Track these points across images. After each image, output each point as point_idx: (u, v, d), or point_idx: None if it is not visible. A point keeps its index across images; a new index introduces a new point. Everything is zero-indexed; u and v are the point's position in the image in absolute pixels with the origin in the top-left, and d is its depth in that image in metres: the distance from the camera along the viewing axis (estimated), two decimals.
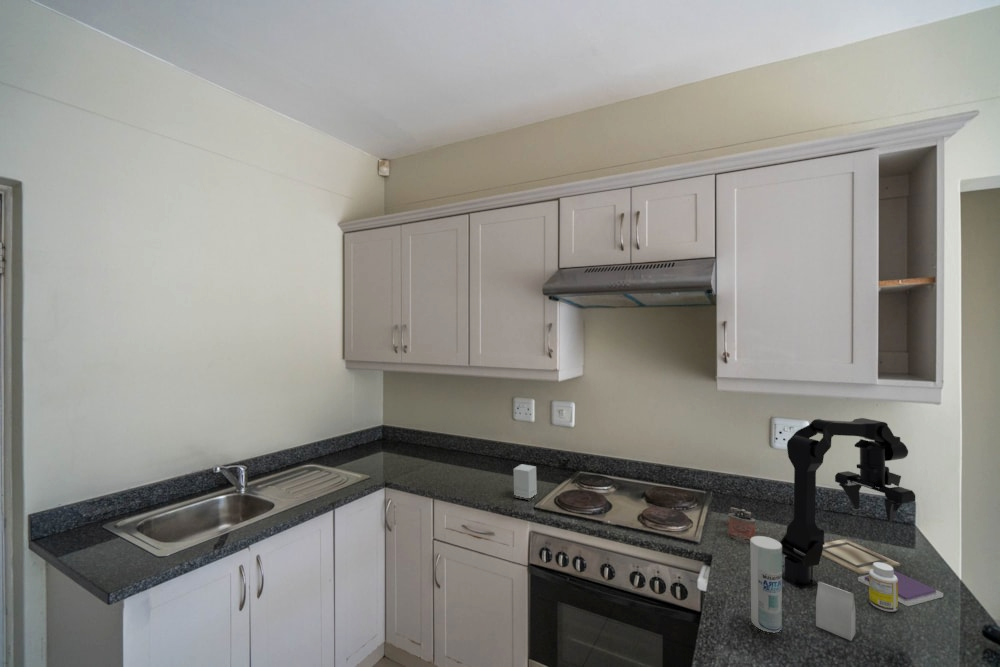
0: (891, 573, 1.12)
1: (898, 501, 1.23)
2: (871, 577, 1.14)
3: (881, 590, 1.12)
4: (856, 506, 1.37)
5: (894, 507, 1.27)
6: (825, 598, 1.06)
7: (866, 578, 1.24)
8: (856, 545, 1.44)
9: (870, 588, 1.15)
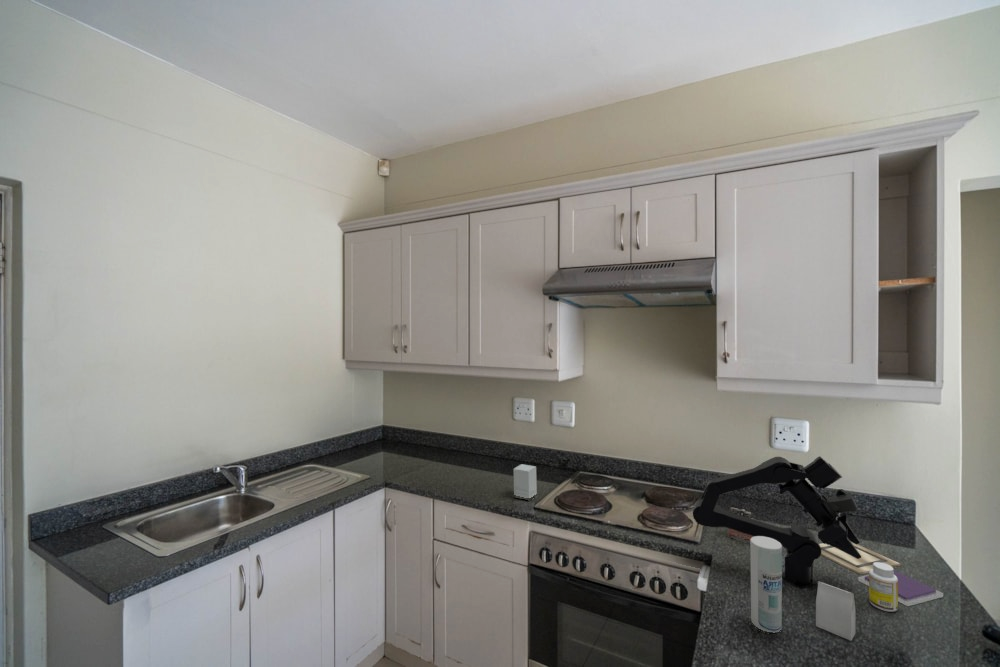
0: (891, 573, 1.12)
1: (823, 542, 1.15)
2: (871, 577, 1.14)
3: (881, 590, 1.12)
4: (853, 541, 1.22)
5: (844, 543, 1.15)
6: (825, 598, 1.06)
7: (866, 578, 1.24)
8: (856, 545, 1.44)
9: (870, 588, 1.15)
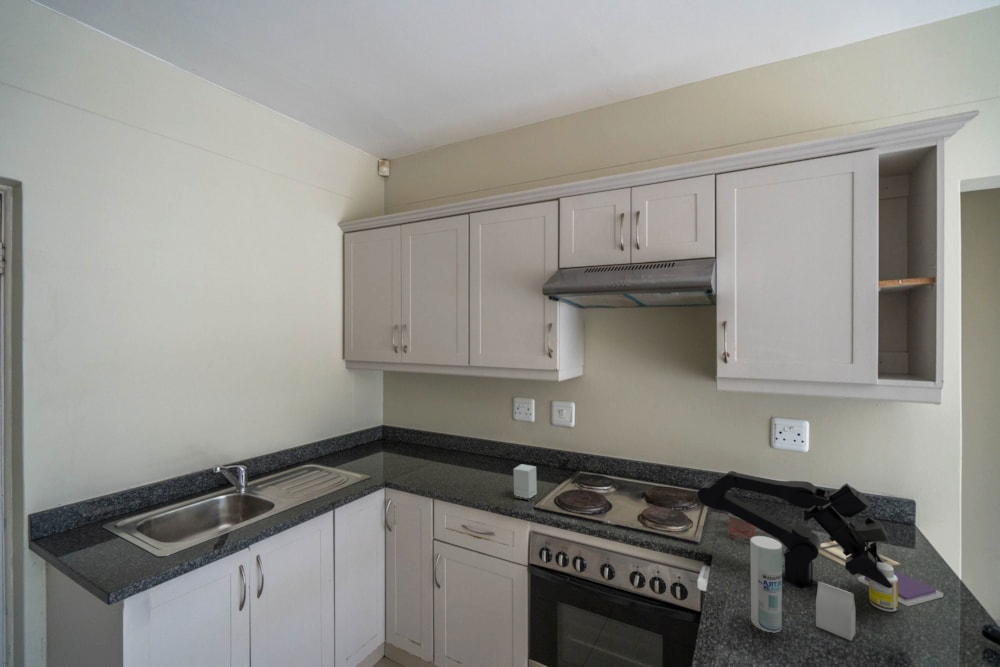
0: (891, 573, 1.12)
1: (851, 573, 1.11)
2: None
3: (881, 590, 1.12)
4: None
5: (874, 572, 1.12)
6: (825, 598, 1.06)
7: (866, 578, 1.24)
8: None
9: (870, 588, 1.15)
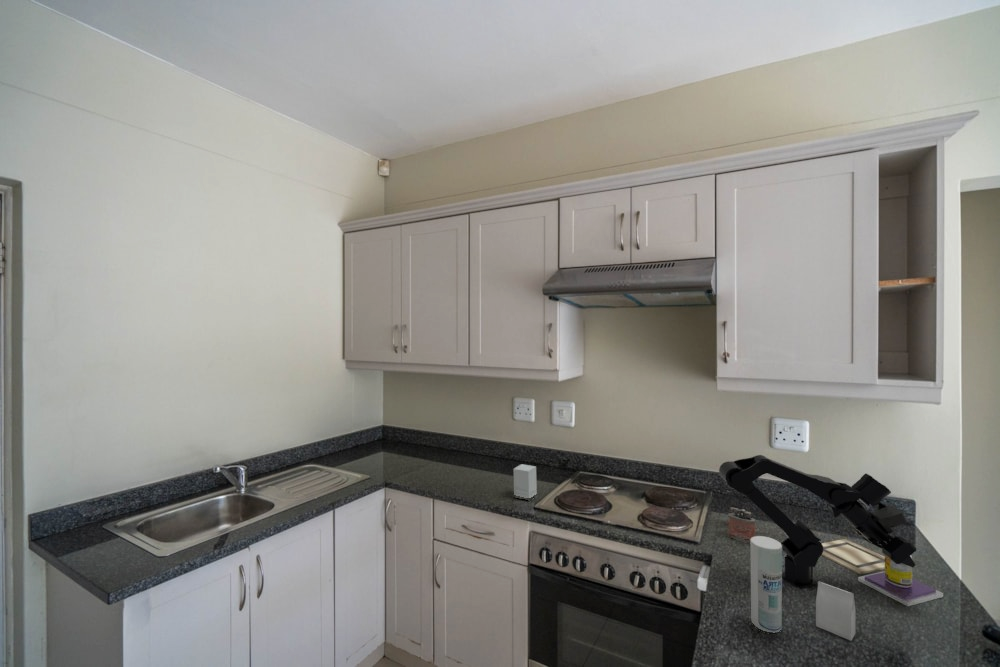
0: None
1: (895, 562, 1.14)
2: None
3: (903, 569, 1.19)
4: None
5: None
6: (825, 598, 1.06)
7: (866, 578, 1.24)
8: (856, 545, 1.44)
9: (890, 569, 1.21)
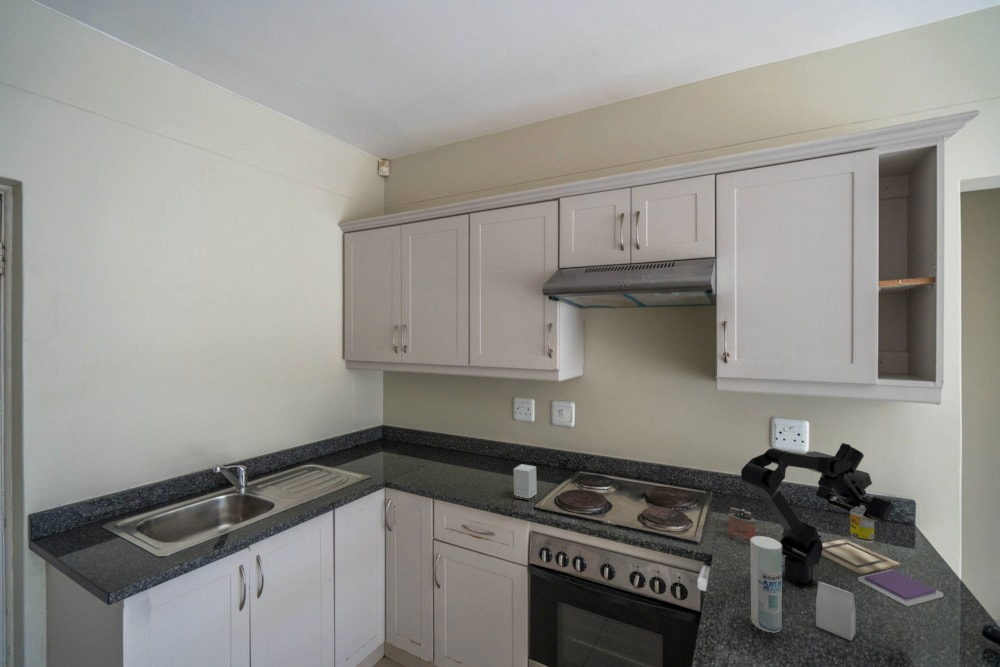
0: None
1: (882, 521, 1.24)
2: (862, 518, 1.32)
3: (871, 526, 1.32)
4: None
5: None
6: (825, 598, 1.06)
7: (866, 578, 1.24)
8: (856, 545, 1.44)
9: (860, 528, 1.33)
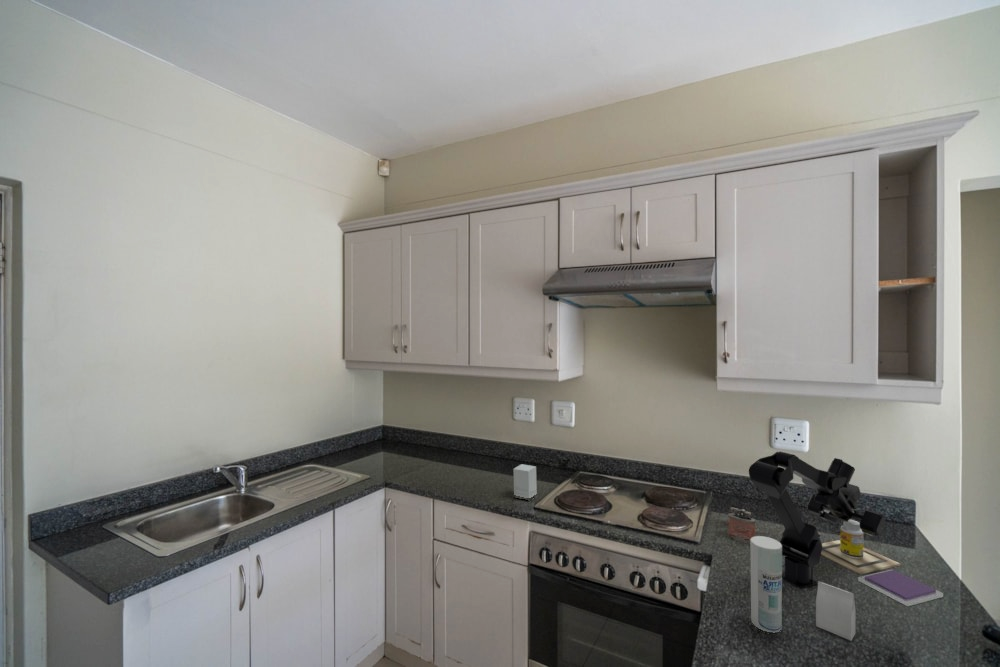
0: None
1: (875, 534, 1.27)
2: (853, 535, 1.35)
3: (861, 542, 1.35)
4: (836, 522, 1.42)
5: None
6: (825, 598, 1.06)
7: (866, 578, 1.24)
8: None
9: (851, 545, 1.36)
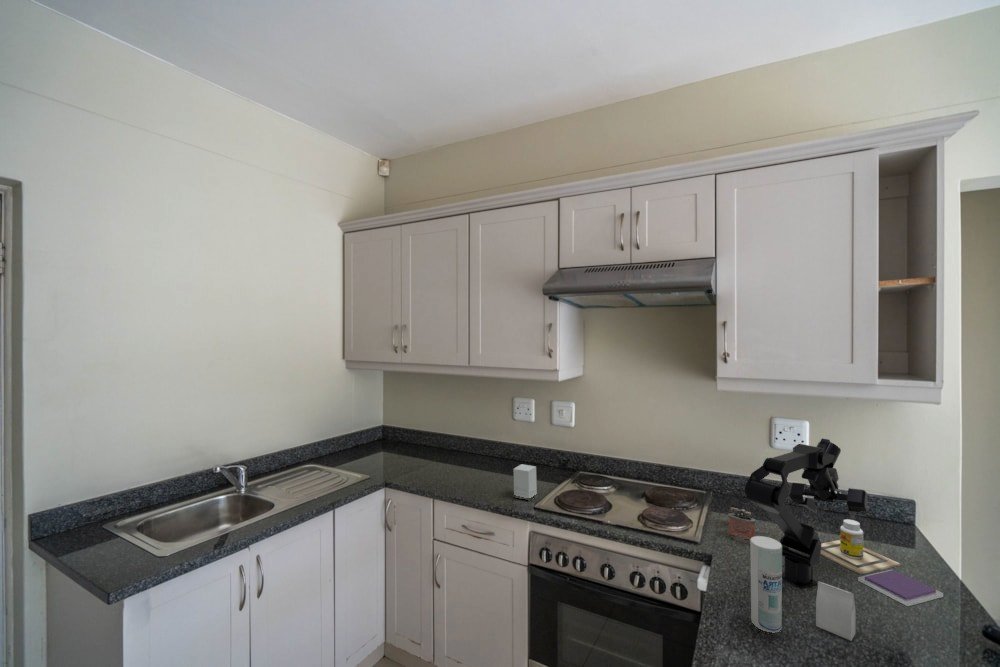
0: None
1: (863, 510, 1.26)
2: (853, 535, 1.35)
3: (861, 542, 1.35)
4: (816, 511, 1.40)
5: None
6: (825, 598, 1.06)
7: (866, 578, 1.24)
8: None
9: (851, 545, 1.36)
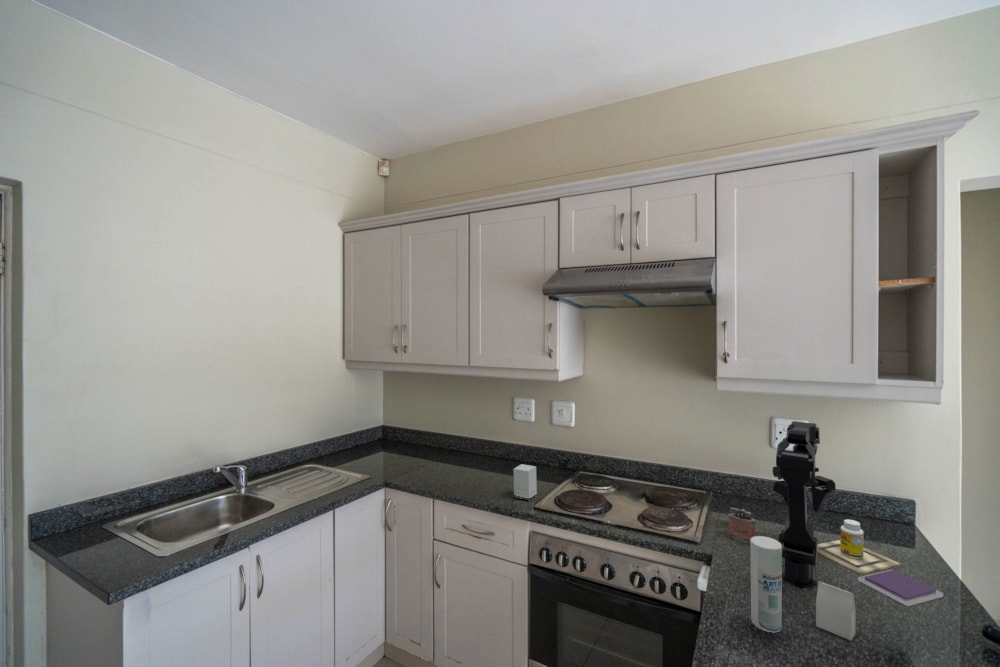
0: None
1: None
2: (853, 535, 1.35)
3: (861, 543, 1.35)
4: None
5: None
6: (825, 598, 1.06)
7: (866, 578, 1.24)
8: None
9: (851, 545, 1.36)
